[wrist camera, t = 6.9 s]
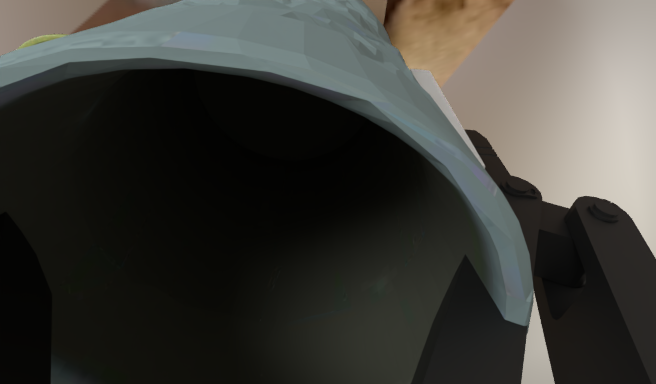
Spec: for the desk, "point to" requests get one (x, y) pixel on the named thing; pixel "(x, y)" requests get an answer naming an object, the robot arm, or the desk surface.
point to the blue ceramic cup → (245, 197)
